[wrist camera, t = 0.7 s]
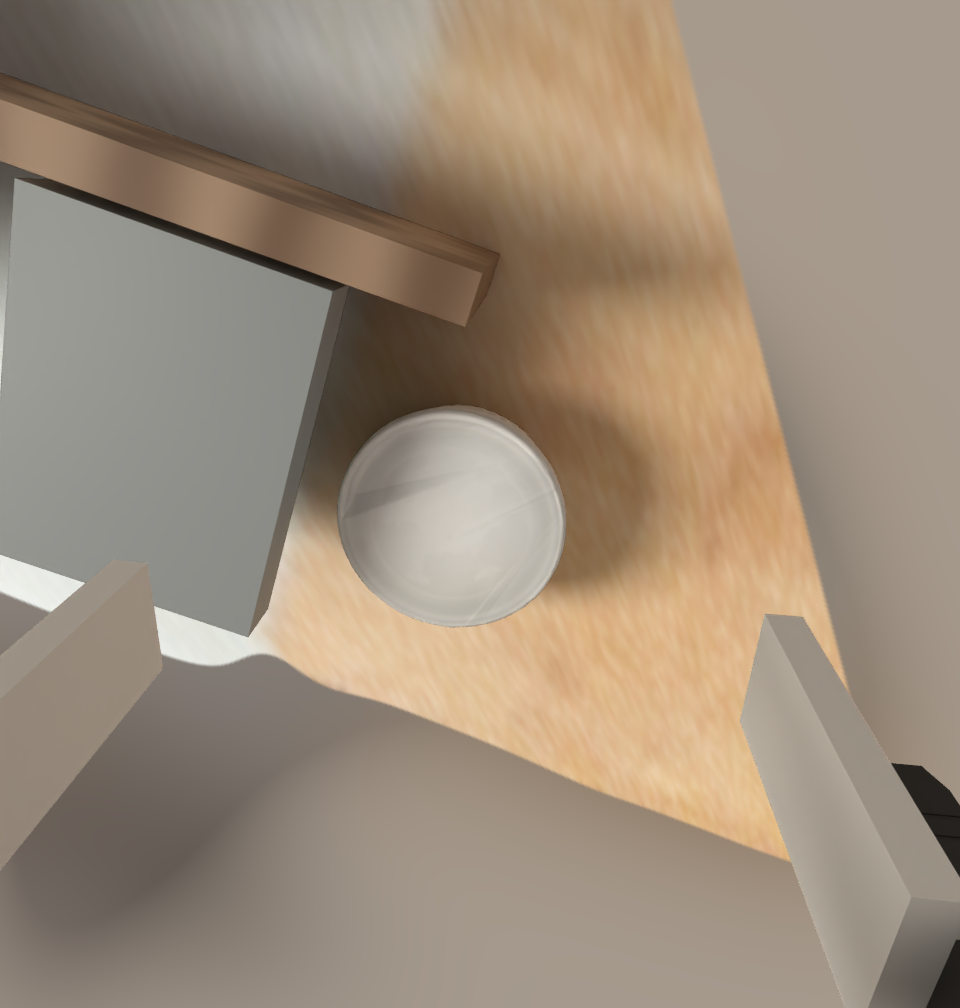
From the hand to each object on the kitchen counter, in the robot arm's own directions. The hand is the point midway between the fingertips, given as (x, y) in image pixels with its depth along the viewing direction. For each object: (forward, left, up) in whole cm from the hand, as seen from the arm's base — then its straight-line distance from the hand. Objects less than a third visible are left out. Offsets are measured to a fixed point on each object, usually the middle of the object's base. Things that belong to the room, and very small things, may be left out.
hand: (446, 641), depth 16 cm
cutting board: (-16, +5, -23) cm, 29 cm away
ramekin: (0, -6, -24) cm, 25 cm away
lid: (-13, -5, -17) cm, 22 cm away
